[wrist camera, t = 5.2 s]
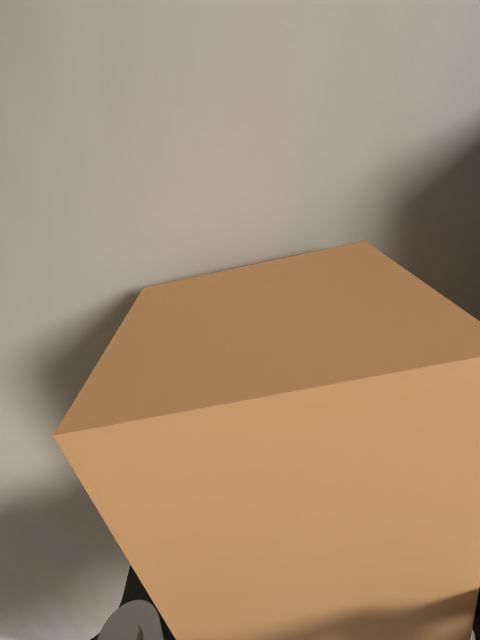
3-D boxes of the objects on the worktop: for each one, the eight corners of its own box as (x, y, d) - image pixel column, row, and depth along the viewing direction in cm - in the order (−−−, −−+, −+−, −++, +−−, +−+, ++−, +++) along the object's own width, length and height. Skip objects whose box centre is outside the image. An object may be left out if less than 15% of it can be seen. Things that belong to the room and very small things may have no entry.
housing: (143, 287, 9) (52, 436, 4) (364, 240, 8) (520, 349, 4) (246, 576, 14) (254, 769, 10) (381, 556, 14) (451, 747, 10)
